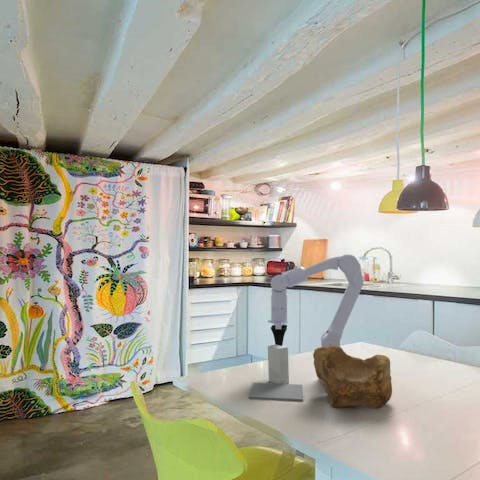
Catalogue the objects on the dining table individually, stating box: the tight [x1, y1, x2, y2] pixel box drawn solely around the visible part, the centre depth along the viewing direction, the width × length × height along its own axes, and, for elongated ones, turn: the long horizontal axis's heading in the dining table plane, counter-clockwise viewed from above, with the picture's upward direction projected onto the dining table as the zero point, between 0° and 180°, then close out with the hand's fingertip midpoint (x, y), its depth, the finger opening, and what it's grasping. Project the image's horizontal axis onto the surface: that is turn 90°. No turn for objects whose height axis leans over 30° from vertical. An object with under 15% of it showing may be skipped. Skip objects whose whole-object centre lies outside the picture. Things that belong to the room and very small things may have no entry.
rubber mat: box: [248, 382, 304, 402], centre depth 128 cm, size 16×14×1 cm
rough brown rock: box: [312, 346, 393, 409], centre depth 119 cm, size 23×17×15 cm
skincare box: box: [267, 344, 290, 384], centre depth 138 cm, size 6×4×12 cm
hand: (279, 346), depth 147 cm, fingers open, 3 cm apart
